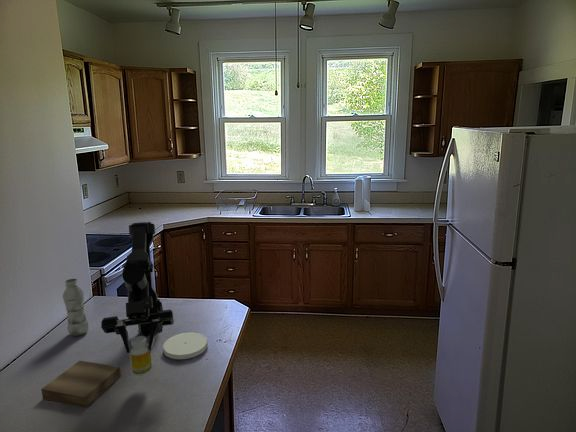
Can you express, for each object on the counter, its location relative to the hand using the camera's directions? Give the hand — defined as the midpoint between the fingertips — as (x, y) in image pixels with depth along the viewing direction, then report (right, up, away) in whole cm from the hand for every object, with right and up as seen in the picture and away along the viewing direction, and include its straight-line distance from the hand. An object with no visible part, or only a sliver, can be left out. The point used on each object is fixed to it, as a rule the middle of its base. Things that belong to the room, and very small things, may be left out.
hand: (139, 351), depth 112 cm
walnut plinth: (-17, -11, +4) cm, 21 cm away
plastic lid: (+7, -7, +23) cm, 25 cm away
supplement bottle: (0, -6, +3) cm, 7 cm away
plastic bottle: (-34, -5, +34) cm, 48 cm away
